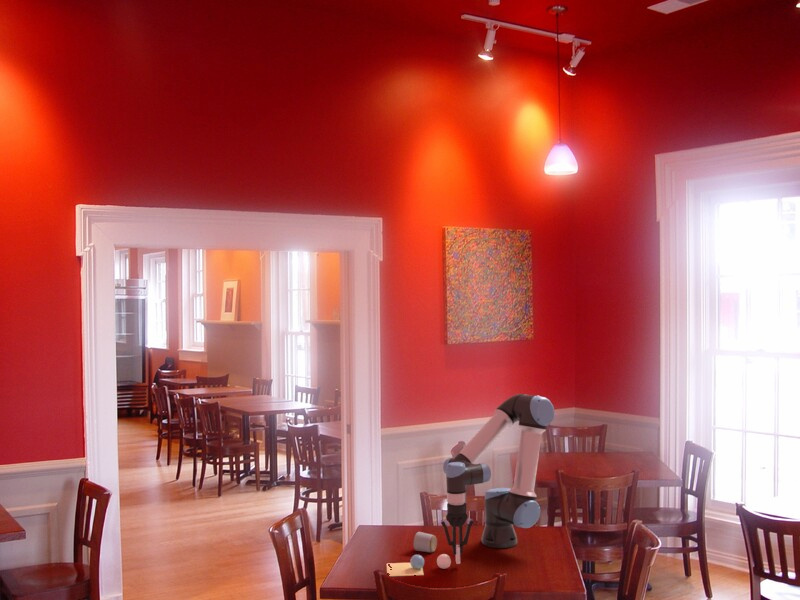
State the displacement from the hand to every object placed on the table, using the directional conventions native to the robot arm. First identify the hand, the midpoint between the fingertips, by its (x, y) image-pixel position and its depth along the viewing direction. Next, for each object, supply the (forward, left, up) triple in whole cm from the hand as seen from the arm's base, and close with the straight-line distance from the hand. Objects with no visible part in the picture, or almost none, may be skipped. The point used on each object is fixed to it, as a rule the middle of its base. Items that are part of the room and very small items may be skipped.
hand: (458, 562), depth 306 cm
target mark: (+21, 0, -2) cm, 21 cm away
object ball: (+16, 0, +1) cm, 16 cm away
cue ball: (+6, 0, +1) cm, 6 cm away
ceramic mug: (+11, -22, -2) cm, 25 cm away
